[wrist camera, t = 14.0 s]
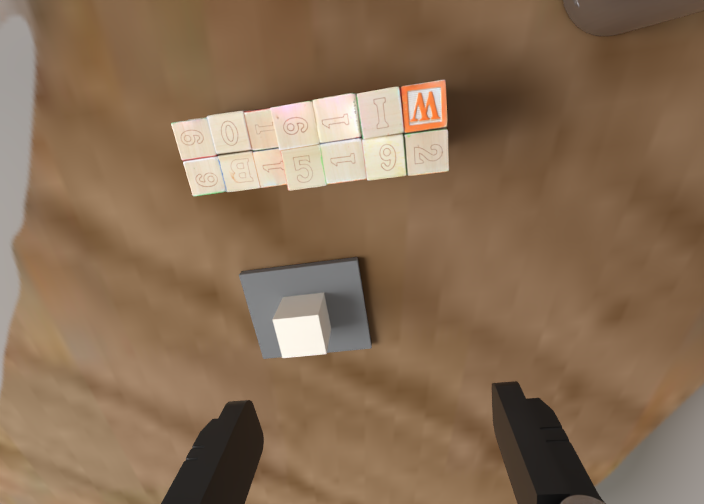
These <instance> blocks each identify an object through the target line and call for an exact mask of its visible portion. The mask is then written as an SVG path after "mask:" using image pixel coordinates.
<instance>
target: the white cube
mask: <svg viewBox="0 0 704 504" xmlns="http://www.w3.org/2000/svg"><path fill="white" fill-rule="evenodd" d="M272 320H273V324H274V328H275V332H276V335H277V339H278V343H279V347H280V350H281V354H282V358H288V357H299V356H310V355H321V354H327V348H328V343H329V337H330V332H331V325H330V320H329V315H328V310H327V305H326V300H325V295H324V293H315V294H306V295H297V296H288V297H283V298H282V300H281V302H280V304H279V306H278V309H277V311H276V313H275V315H274V317H273V319H272Z"/></svg>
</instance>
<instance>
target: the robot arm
mask: <svg viewBox="0 0 704 504" xmlns="http://www.w3.org/2000/svg"><path fill="white" fill-rule="evenodd" d="M563 2H564V6H565V10H566V12H567V13H568V15H569V17H570V19H571V20H572V21H573V22H574V24H575V25H576V26H577V27H578V28H580V29H582V30H583V31H585V32H586V33H589V34H593V35H596V36H611V35H617V34H621V33H625V32H628V31H632V30H636V29H639V28H643V27H647V26H651V25H654V24H658V23H661V22H665V21H669V20H672V19H676V18H679V17H683V16H686V15H690V14H694V13H697V12H701V11H704V0H563ZM492 410H493V425H494V431H495V435H496V439H497V442H498V445H499V448H500V451H501V454H502V457H503V461H504V464H505V467H506V470H507V473H508V476H509V479H510V482H511V485H512V488H513V491H514V494H515V497H516V500H517V503H518V504H606V503H604V501H603V500H602V499H601V497H600V496H599V494H598V493H597V491H596V489H595V487H594V485H593V483H592V481H591V480H590V478H589V476H588V474H587V472H586V470H585V468H584V467H583V465H582V463H581V461H580V459H579V457H578V455H577V454H576V452H575V450H574V448H573V446H572V444H571V443H570V442H569V439H568V437H567V435H566V433H565V431H564V429H562V426H561V424H560V422H559V420H558V418H557V416H556V415H555V413H554V411H553V410H552V409H551V408H550V407H549V406H548V405H546V404H545V403H544V402H543V401H542V400H541V399H540V398H531V399H526V398H525V396H524V394H523V391H522V389H521V387H520V385H519V383H518V382H517V381H515V382H502V383H492ZM263 444H264V437H263V432H262V429H261V426H260V423H259V420H258V417H257V414H256V411H255V408H254V405H253V403H252V402H251V401H250V400H246V401H232V402H228V403H227V404H226V405H225V407H224V409H223V411H222V413H221V414H220V416H219V418H218V419H212V420H211V421H210V422H209V423H208V424H207V425H206V426H205V428H204V429H203V430H202V431H201V432H200V433H199V435H198V437H197V439H196V441H195V442H194V444H193V446H192V447H193V448H192V449H191V450H190V452H189V453H188V455H187V457H186V461H184V463H183V465H182V466H181V468H180V470H179V472H178V474H177V476H176V477H175V479H174V481H173V483H172V485H171V487H170V488H169V490H168V492H167V494H166V496H165V498H164V499H163V501H162V503H161V504H245V501H246V498H247V495H248V492H249V489H250V486H251V483H252V481H253V478H254V475H255V472H256V469H257V466H258V463H259V460H260V457H261V454H262V451H263Z"/></svg>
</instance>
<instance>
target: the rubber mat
mask: <svg viewBox="0 0 704 504" xmlns="http://www.w3.org/2000/svg"><path fill="white" fill-rule="evenodd" d="M239 277H240V280H241V284H242V287H243V291H244V294H245V298H246V301H247V304H248V308H249V311H250V315H251V318H252V322H253V325H254V328H255V332H256V335H257V339H258V342H259V345H260V349H261V352H262V356H263V359H266V358H277V357H282V354H281V350H280V347H279V343H278V339H277V335H276V332H275V328H274V324H273V320H272V319H273V317H274V315H275V313H276V311H277V309H278V306H279V304H280V302H281V300H282V298H283V297H288V296H297V295H306V294H315V293H324V295H325V300H326V305H327V310H328V315H329V320H330V325H331V332H330V337H329V343H328V348H327V353H328V352H338V351H349V350H359V349H369V348H371V337H370V331H369V325H368V319H367V313H366V306H365V300H364V294H363V288H362V282H361V276H360V269H359V263H358V257H354V258H346V259H338V260H330V261H322V262H314V263H305V264H297V265H289V266H281V267H273V268H265V269H257V270H249V271H242V272H241V273H240V274H239Z"/></svg>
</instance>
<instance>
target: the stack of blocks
mask: <svg viewBox="0 0 704 504" xmlns="http://www.w3.org/2000/svg"><path fill="white" fill-rule="evenodd" d="M171 125H172V128H173V132H174V135H175V139H176V142H177V145H178V149H179V152H180V156H181V159H182V160H183V163H184V167H185V171H186V174H187V178H188V181H189V184H190V187H191V191H192V194H193V196H200V195H208V194H215V193H221V192H226V191H227V192H234V191H241V190H248V189H255V188H265V187H272V186H279V185H285V184H287V187H288V190H289V191H291V190H298V189H305V188H312V187H319V186H325V185H327V184H334V183H342V182H349V181H357V180H363V179H366V180H377V179H384V178H392V177H401V176H406V175H409V176H413V175H422V174H431V173H440V172H446V171H449V156H448V130H447V129H446V127H447V98H446V81H445V80H438V81H432V82H426V83H420V84H413V85H407V86H402V87H398V86H397V87H391V88H385V89H380V90H374V91H369V92H363V93H358V94H355V93H348V94H342V95H337V96H331V97H325V98H320V99H315V100H312V101H305V102H299V103H294V104H288V105H282V106H277V107H271V108H268V109H260V110H251V111H236V112H228V113H222V114H215V115H209V116H207V117H205V118H197V119H190V120H188V121H181V122H174V123H171Z"/></svg>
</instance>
